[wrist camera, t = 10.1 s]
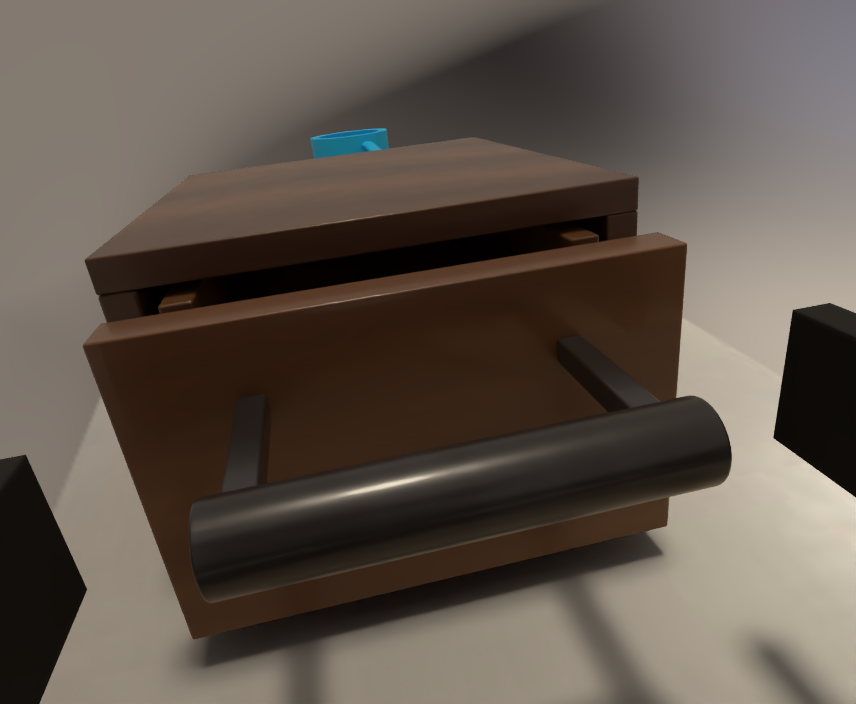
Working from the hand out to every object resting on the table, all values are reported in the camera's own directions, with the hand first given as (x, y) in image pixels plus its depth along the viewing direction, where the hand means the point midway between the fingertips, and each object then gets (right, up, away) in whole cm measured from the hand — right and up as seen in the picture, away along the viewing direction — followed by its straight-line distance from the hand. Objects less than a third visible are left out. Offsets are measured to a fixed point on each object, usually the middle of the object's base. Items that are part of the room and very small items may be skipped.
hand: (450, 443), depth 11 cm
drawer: (-1, -2, +9) cm, 10 cm away
